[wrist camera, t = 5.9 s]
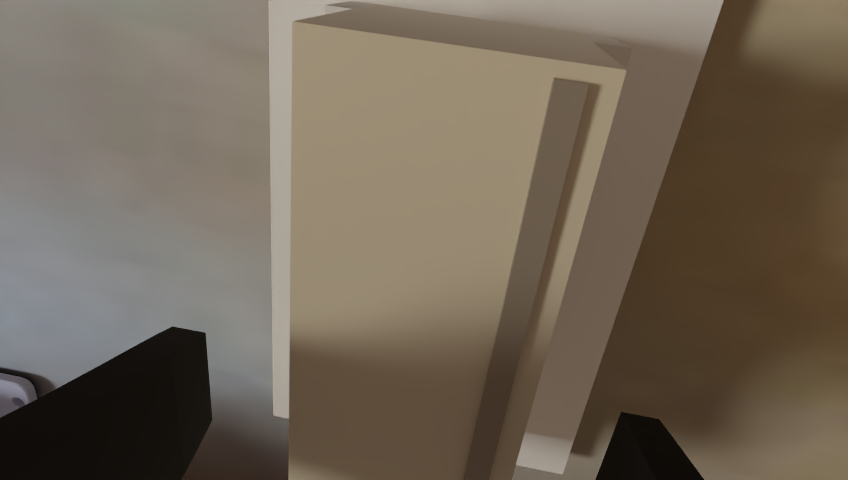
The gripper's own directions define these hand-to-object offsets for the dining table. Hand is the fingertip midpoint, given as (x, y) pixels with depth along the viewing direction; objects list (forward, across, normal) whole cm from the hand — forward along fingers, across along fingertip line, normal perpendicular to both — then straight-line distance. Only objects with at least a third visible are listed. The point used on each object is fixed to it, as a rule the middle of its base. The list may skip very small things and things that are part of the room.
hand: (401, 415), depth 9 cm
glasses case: (+4, 0, 0) cm, 4 cm away
